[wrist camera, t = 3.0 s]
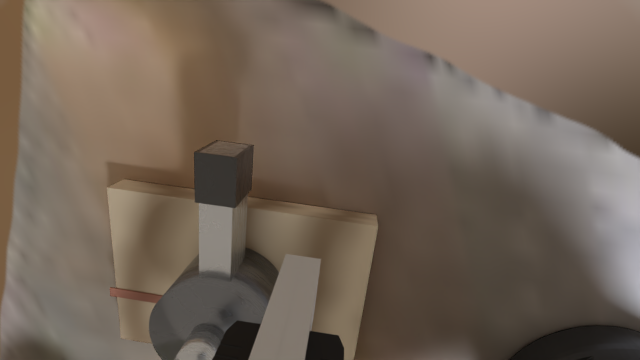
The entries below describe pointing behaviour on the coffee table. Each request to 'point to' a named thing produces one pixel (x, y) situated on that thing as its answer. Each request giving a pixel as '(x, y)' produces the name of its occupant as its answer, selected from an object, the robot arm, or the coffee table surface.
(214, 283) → the saucepan with lid
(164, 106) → the coffee table surface
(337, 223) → the wooden cutting board
